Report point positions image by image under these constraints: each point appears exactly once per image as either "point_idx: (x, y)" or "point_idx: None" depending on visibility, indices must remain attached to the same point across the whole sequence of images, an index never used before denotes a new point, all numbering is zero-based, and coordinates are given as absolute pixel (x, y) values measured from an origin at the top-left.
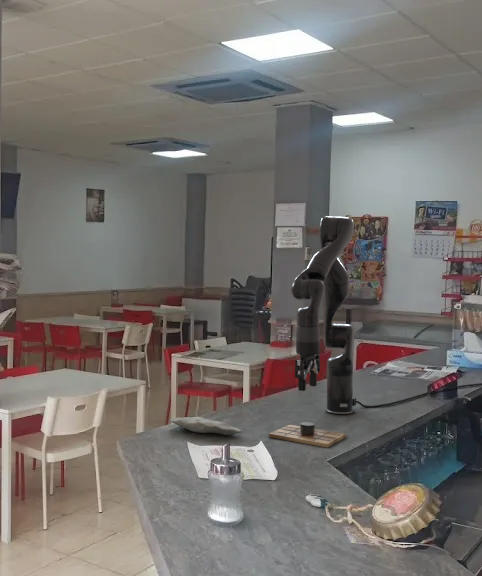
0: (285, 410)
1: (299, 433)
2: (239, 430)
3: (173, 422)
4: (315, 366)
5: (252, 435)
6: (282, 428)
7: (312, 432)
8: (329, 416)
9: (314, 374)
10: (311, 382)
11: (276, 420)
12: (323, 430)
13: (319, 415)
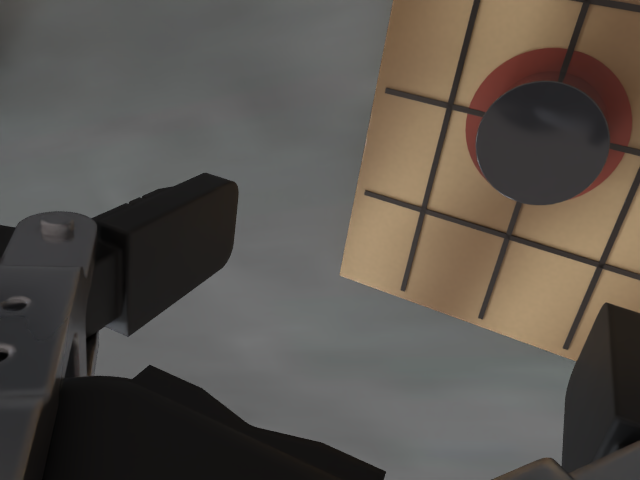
0: None
1: None
2: None
3: None
4: (41, 338)
5: None
6: (458, 307)
7: (588, 84)
8: (20, 83)
9: (109, 262)
10: (205, 253)
11: (228, 339)
12: (400, 30)
13: (32, 139)
